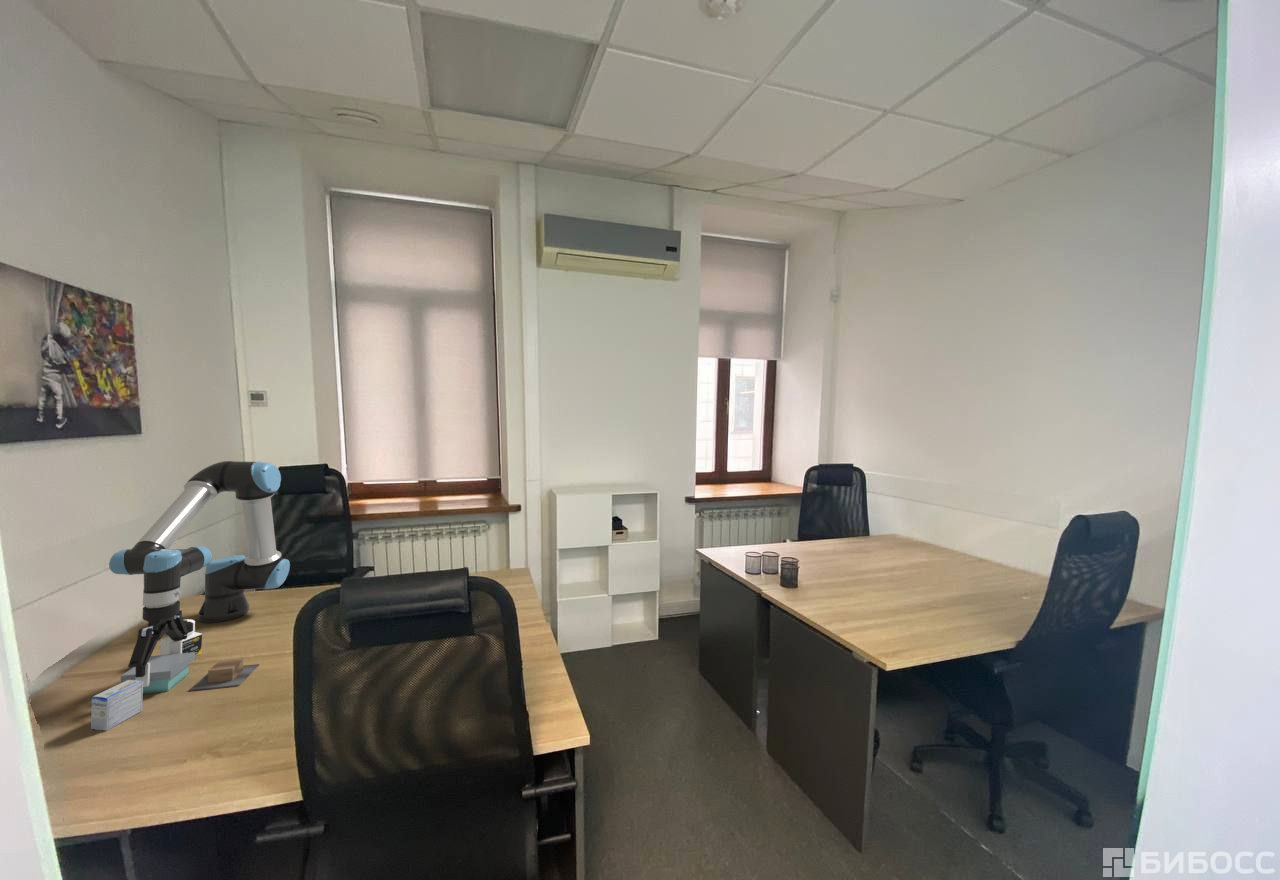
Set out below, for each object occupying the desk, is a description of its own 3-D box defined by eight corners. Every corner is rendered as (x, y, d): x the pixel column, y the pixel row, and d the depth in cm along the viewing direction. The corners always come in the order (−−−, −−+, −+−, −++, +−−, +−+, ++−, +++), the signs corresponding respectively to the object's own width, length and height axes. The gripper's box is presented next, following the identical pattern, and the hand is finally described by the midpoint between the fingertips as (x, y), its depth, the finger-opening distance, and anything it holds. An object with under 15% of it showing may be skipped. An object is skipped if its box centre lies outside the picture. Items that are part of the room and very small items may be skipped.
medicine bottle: (176, 664, 142) (177, 627, 142) (159, 661, 144) (160, 624, 143) (202, 653, 149) (203, 618, 149) (185, 650, 151) (186, 616, 150)
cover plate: (149, 663, 135) (150, 656, 135) (195, 659, 138) (195, 652, 138) (120, 684, 124) (120, 675, 124) (170, 679, 128) (170, 670, 128)
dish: (151, 678, 134) (151, 665, 134) (188, 674, 137) (188, 661, 137) (127, 695, 126) (128, 681, 126) (168, 691, 129) (168, 677, 128)
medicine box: (127, 710, 120) (128, 679, 119) (142, 711, 120) (143, 680, 119) (90, 730, 112) (90, 696, 112) (106, 731, 112) (107, 697, 111)
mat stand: (213, 669, 140) (213, 656, 140) (259, 665, 144) (259, 652, 144) (188, 691, 129) (188, 677, 129) (238, 686, 133) (239, 672, 133)
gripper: (146, 620, 120) (144, 696, 121) (204, 587, 144) (202, 651, 144) (110, 622, 118) (108, 700, 118) (174, 589, 142) (172, 654, 142)
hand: (159, 673), depth 131 cm, fingers open, 13 cm apart
